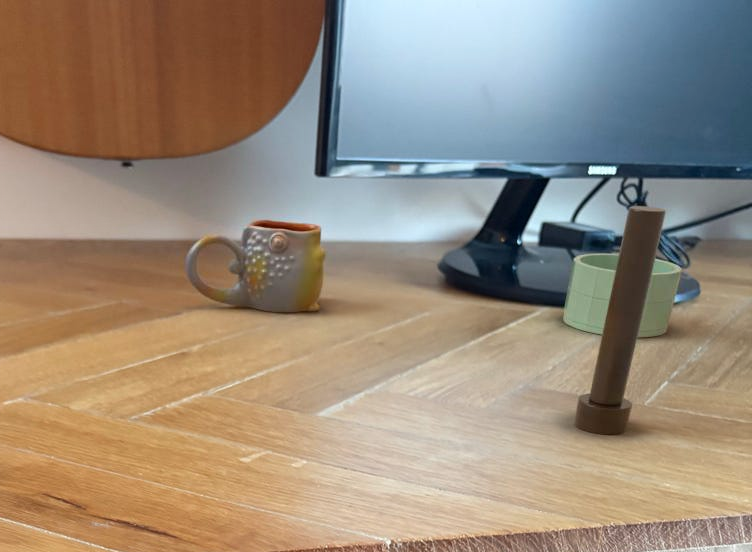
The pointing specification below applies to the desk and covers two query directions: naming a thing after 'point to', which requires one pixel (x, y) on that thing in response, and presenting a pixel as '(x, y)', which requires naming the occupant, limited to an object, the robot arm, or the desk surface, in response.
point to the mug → (268, 267)
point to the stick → (622, 325)
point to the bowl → (594, 291)
